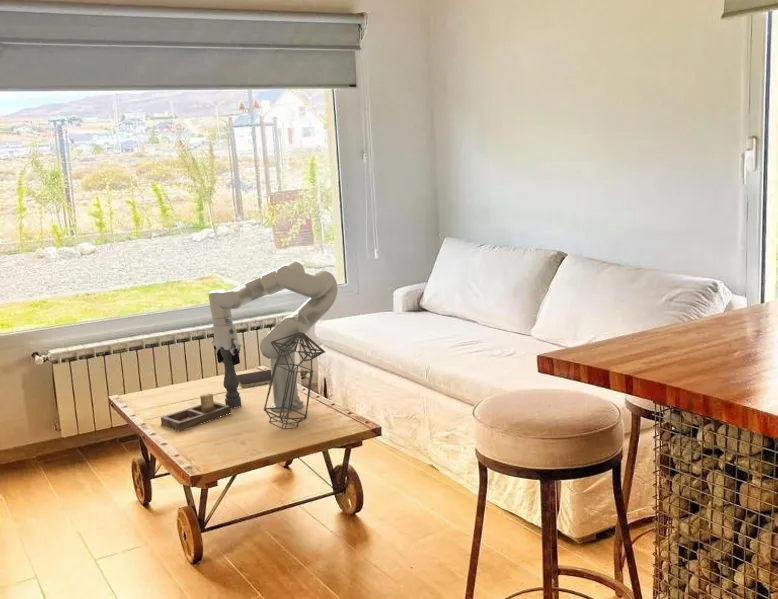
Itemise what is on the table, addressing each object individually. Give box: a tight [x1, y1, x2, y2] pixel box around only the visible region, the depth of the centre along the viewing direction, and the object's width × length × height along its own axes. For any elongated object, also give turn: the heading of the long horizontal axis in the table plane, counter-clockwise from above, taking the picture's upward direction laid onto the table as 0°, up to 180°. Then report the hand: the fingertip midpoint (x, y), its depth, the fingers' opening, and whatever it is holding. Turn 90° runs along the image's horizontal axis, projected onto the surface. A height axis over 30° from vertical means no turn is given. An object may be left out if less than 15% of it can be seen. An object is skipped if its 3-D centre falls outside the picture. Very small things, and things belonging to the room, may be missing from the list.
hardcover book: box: [236, 369, 272, 388], centre depth 381 cm, size 16×23×2 cm
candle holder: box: [220, 347, 242, 409], centre depth 343 cm, size 6×6×25 cm
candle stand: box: [160, 393, 232, 432], centre depth 332 cm, size 12×23×8 cm, turn 136°
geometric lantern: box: [263, 332, 326, 430], centre depth 315 cm, size 16×16×35 cm
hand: (229, 363), depth 342 cm, fingers open, 9 cm apart
